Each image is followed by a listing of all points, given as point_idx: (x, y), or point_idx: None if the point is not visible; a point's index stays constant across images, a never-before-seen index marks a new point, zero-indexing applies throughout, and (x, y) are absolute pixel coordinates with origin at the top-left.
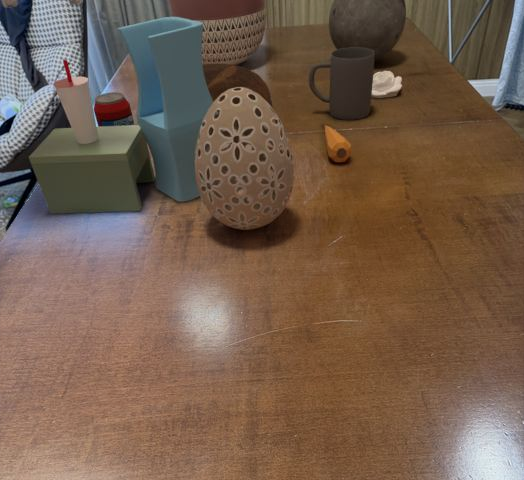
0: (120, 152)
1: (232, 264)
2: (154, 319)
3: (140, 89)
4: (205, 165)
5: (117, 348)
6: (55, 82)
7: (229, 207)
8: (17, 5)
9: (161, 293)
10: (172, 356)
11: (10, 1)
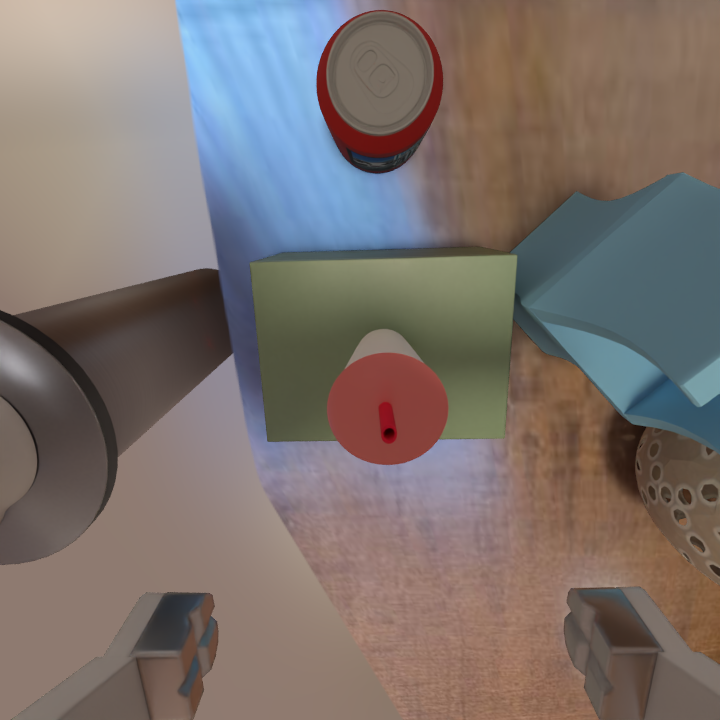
0: (490, 433)
1: (645, 541)
2: (541, 636)
3: (596, 332)
4: (716, 582)
5: (504, 674)
6: (331, 410)
7: None
8: (212, 601)
9: (544, 595)
10: (568, 684)
11: (201, 673)
